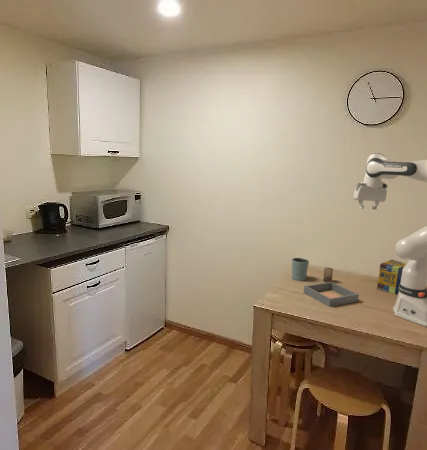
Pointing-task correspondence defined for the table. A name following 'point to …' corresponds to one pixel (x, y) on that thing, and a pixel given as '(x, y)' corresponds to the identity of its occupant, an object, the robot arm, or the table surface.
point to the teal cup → (299, 269)
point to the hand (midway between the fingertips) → (367, 209)
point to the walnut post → (328, 275)
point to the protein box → (390, 276)
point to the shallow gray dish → (331, 294)
